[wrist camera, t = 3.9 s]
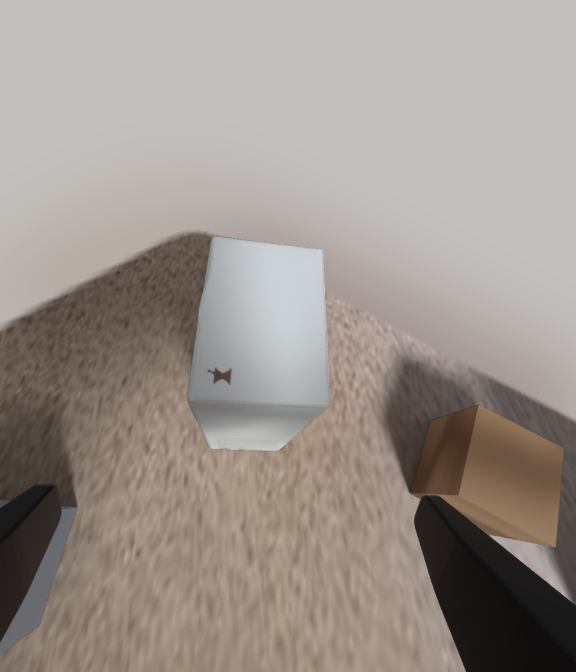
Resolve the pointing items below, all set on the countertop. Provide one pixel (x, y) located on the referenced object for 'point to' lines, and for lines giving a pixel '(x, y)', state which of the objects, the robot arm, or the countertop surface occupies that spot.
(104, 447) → the countertop surface
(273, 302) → the skincare box
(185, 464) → the countertop surface
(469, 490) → the walnut block
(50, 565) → the slate block
